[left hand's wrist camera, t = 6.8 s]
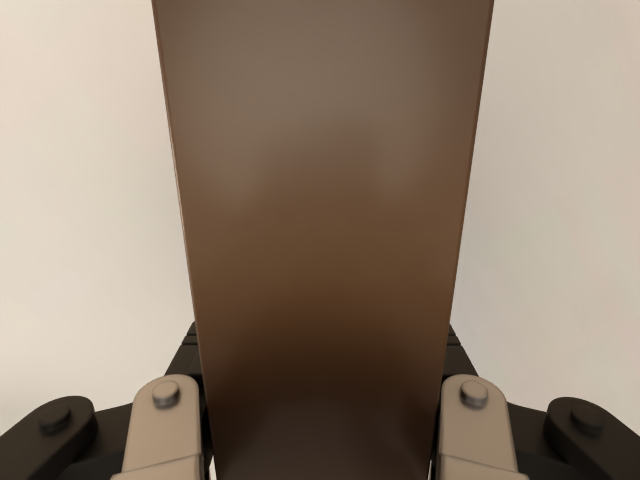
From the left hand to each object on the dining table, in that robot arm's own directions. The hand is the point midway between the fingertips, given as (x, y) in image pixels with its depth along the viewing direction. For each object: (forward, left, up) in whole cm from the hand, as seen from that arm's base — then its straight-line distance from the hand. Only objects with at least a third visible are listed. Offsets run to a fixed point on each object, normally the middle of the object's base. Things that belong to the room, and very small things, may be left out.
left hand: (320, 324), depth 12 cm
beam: (+16, -11, -4) cm, 20 cm away
